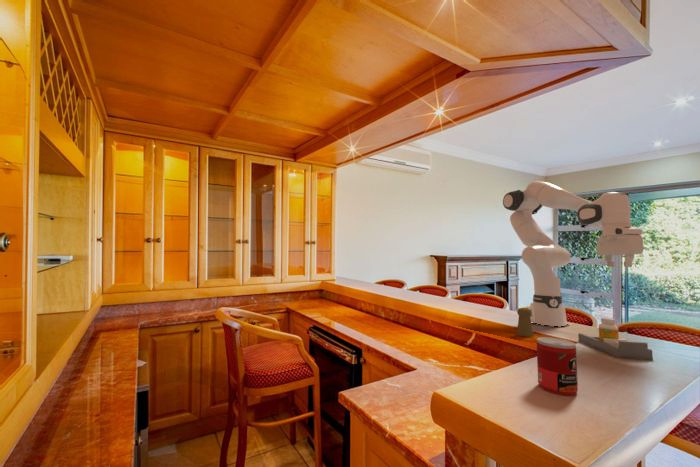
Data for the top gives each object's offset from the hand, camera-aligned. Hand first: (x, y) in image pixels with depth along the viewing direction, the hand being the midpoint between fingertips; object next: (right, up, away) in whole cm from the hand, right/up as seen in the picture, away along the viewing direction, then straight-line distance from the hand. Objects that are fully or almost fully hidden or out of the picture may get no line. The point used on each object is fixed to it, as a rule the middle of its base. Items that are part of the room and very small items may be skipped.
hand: (619, 266), depth 121 cm
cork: (-34, -29, +6) cm, 45 cm away
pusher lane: (-14, -28, -13) cm, 34 cm away
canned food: (-58, -24, -49) cm, 79 cm away
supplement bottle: (-14, -27, -12) cm, 33 cm away
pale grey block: (-15, -27, -17) cm, 35 cm away
